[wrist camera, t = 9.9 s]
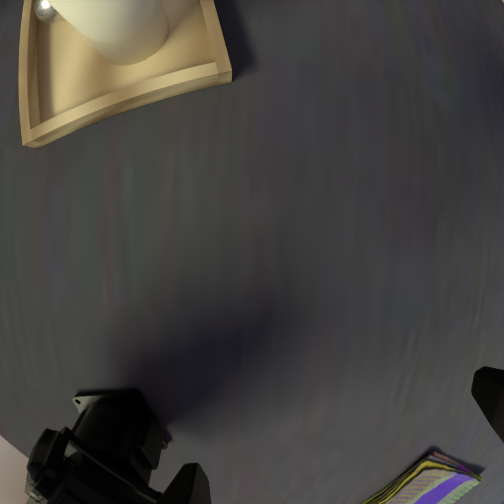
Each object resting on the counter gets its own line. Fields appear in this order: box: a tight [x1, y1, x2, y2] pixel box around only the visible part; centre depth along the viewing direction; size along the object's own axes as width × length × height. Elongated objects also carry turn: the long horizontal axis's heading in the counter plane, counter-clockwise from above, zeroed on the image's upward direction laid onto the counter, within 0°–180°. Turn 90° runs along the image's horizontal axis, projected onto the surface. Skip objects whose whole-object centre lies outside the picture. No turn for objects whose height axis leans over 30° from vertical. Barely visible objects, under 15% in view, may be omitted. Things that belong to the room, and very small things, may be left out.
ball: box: [34, 0, 65, 23], centre depth 13 cm, size 4×4×4 cm
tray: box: [19, 0, 232, 148], centre depth 15 cm, size 14×14×2 cm
